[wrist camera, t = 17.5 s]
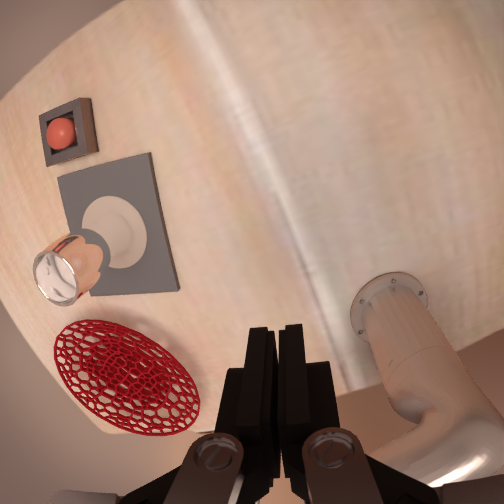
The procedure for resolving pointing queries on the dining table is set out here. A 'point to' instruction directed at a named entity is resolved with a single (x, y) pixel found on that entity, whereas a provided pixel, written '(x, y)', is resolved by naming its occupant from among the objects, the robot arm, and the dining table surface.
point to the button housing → (83, 126)
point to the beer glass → (80, 259)
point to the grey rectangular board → (137, 216)
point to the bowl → (127, 376)
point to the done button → (61, 133)
